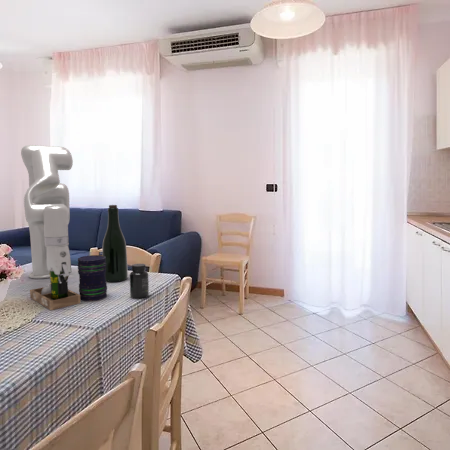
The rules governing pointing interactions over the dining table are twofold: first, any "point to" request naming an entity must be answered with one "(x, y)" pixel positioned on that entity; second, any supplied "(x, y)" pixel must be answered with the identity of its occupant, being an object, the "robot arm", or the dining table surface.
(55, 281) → the beer can
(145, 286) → the supplement bottle
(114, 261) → the wine bottle
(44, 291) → the garlic
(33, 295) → the slot rack
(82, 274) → the storage jar
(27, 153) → the robot arm
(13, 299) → the dining table surface
